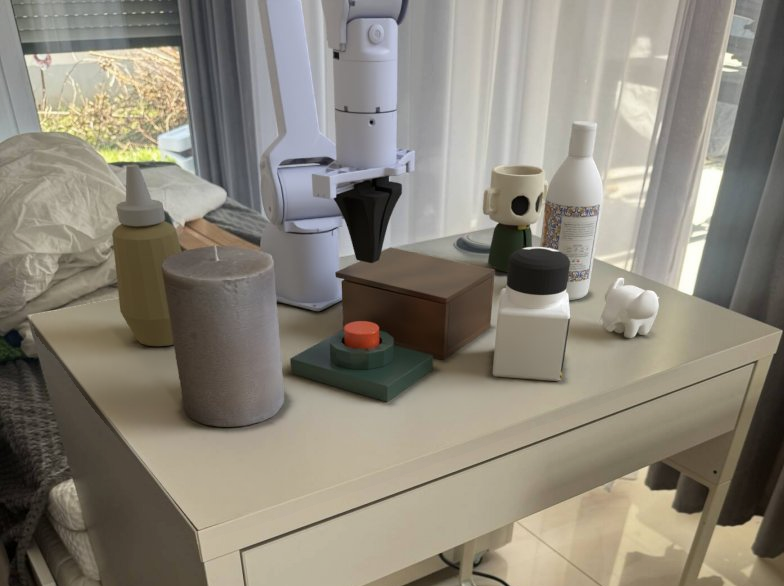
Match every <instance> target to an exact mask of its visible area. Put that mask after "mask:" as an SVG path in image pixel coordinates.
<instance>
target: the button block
mask: <svg viewBox="0 0 784 586" xmlns="http://www.w3.org/2000/svg"><path fill="white" fill-rule="evenodd" d="M289 362H290V373H291V374H292V375H295V376H299V377H302V378H306V379H309V380H312V381H316V382H318V383H322V384H325V385H328V386H332V387H336V388H339V389H342V390H345V391H349V392H351V393H356V394H359V395H363V396H365V397H368V398H369V397H370V398H372V399H376V400H379V401H382V402H386V403H388V402H390V401H391V400H392V399H393V398H395V397H397V396H398V395H399V394H401V393H402V392H404V391H405V390H407V389H408V388H409V387H411V386H413V385H414V384H415V383H416V382H418V381H419V380H421V379H423V378H424V377H425V376H426V375H428V374H429V373H430V372H432V371H433V370H434V358H433V355H430V354H426V353H422V352H418V351H415V350H411V349H407V348H403V347H399V346H395V345H394V338H393V337H392V336H390V335H389V334H388V333H386V332H383V331H379V345H378V346H376V347H372V348H367V349H361V348H352V347H348V346H345V343H344V331H343V330H341V331H338V332H336V333H335V334H333V335H331V336H328V337H327V338H324V340H322V341H320V342H318V343H315V344H314V345H312V346H311V347H309V348H307V349H305V350H303V351H301V352H299V353H298V354H296V355H294V356H292V357H291V358H290V359H289Z"/></svg>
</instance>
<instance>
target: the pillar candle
mask: <svg viewBox="0 0 784 586" xmlns="http://www.w3.org/2000/svg"><path fill="white" fill-rule="evenodd" d="M181 251H182V252H178V253H175V254H173V255H171V256H169V257H168V258H166V259H165V260H164V261H163V263H162V265H161V268H162V274H163V280H164V287H165V293H166V299H167V304H168V311H169V316H170V323H171V329H172V335H173V343H174V344H173V349H174V354H175V361H176V367H177V373H178V379H179V385H180V391H181V400H182V405H183V410H184V412H185V413H186V415H187V416H188V417H189V418H190V419H191V420H194V421H196V422H197V423H200V424H203V425H207V426H214V427H221V428H234V427H245V426H248V425H254V424H256V423H257V424H258V423H261V422H265V421H266V420H268V419H271V418H272V417H274V416H276V415H277V414H278V412H279V411H280V409H281V408H282V407H283V405H284V403H285V390H284V389H285V388H284V375H283V361H282V351H281V339H280V326H279V315H278V304H277V303H278V301H277V300H276V291H275V277H274V267H273V264H274V263H273V262H274V261H273V259H272V257H273V256H271V255H270V254H268V253H263V252H262V251H260V250H259V249H255V248H250V247H245V246H235V245H217V244H213V245H211V246H201V247H196V248H189V249H186V250H181Z"/></svg>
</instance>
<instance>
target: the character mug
mask: <svg viewBox="0 0 784 586" xmlns="http://www.w3.org/2000/svg"><path fill="white" fill-rule="evenodd" d="M548 188H549V182H548V180H547V179H546V170H545V169H544V168H541V167H538V166H533V165H527V164H502V165H501V164H500V165H496V166H494V167H492V169H491V175H490V187H488V188H486V189H485V190H484V191H483V198H482V199H483V200H482V213H483V215H485V216H488V217H489V219H490V220H491V221H493V222H495V223H497V224H496V225H495V227H494V229H493V233H492V238H491V243H490V247H489V253H488V258H487V264H488V265H489V266H491V267H492V268H494V269H495V270H498V271H499V272H506V273H508V264H509V257H510V256H511V255H512V253H514V252H515V251H518V250H520V249H523V248H527V247H533V235H532V234H533V232H532V228H531V225H534V224H536V223H537V222H538V221H539V219H540V218H541V215H542V211H543V206H545V201H546V195H547V191H548Z"/></svg>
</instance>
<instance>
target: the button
mask: <svg viewBox="0 0 784 586" xmlns="http://www.w3.org/2000/svg"><path fill="white" fill-rule="evenodd" d="M344 343H345V346H348V347H352V348H361V349H367V348H372V347H376V346H378V345H379V326H378V325H377V324H375V323H372V322H367V321H356V322H351V323H348V324H347V325H345V327H344Z"/></svg>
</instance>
